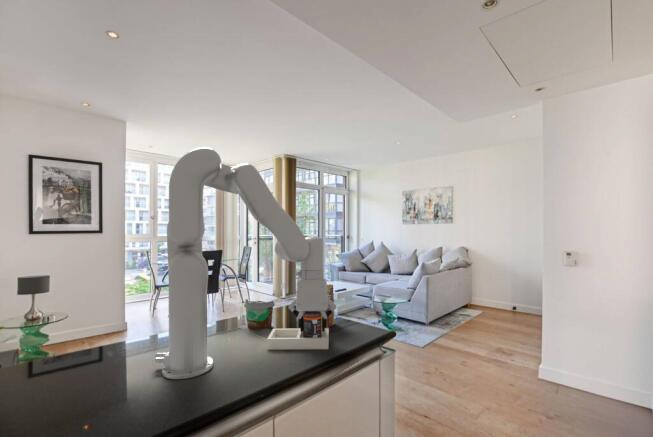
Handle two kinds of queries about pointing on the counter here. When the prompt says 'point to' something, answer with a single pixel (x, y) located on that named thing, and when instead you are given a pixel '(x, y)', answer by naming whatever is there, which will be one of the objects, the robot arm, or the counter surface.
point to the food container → (259, 314)
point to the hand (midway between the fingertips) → (312, 329)
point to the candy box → (331, 317)
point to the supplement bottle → (312, 325)
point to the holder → (296, 340)
